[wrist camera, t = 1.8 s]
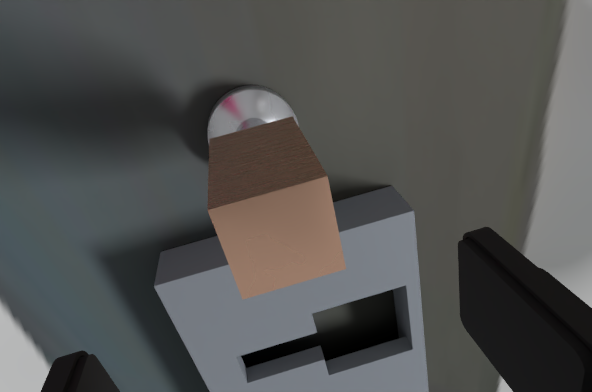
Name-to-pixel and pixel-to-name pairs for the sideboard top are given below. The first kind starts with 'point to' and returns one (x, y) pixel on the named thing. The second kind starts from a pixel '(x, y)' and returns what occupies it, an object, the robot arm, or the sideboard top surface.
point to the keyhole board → (303, 308)
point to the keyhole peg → (268, 194)
